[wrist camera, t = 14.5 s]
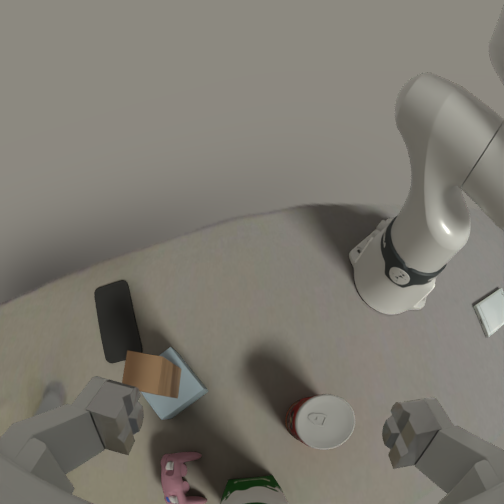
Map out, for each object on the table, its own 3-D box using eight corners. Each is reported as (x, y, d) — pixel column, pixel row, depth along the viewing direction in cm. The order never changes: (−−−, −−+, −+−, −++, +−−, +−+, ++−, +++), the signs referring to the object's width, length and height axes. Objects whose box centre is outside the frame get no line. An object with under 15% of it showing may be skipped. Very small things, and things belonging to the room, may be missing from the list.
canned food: (287, 395, 43) (298, 392, 34) (335, 398, 43) (358, 394, 33) (281, 440, 39) (291, 449, 30) (330, 442, 39) (352, 449, 29)
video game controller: (181, 449, 39) (152, 452, 34) (204, 450, 38) (175, 456, 32) (187, 499, 34) (159, 508, 29) (210, 503, 33) (183, 514, 27)
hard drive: (501, 287, 52) (476, 304, 50) (514, 315, 48) (489, 336, 46) (497, 289, 53) (471, 307, 51) (509, 318, 49) (484, 339, 47)
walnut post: (181, 369, 40) (162, 356, 31) (177, 398, 37) (157, 394, 29) (152, 364, 40) (127, 350, 31) (148, 393, 38) (121, 386, 29)
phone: (106, 364, 44) (93, 289, 51) (108, 365, 45) (95, 291, 52) (143, 354, 46) (126, 278, 52) (144, 355, 46) (128, 280, 53)
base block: (179, 354, 47) (170, 346, 41) (208, 391, 44) (203, 388, 38) (143, 380, 44) (130, 376, 39) (171, 418, 41) (161, 419, 36)
